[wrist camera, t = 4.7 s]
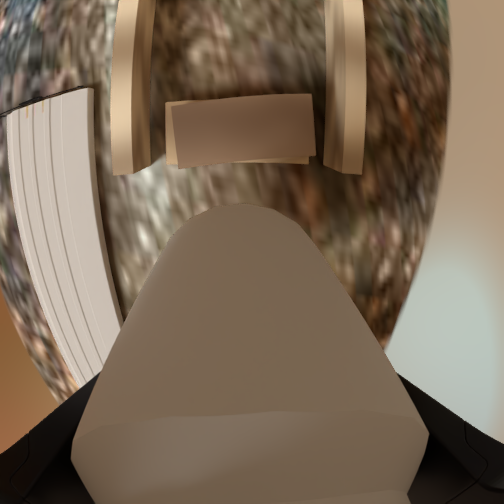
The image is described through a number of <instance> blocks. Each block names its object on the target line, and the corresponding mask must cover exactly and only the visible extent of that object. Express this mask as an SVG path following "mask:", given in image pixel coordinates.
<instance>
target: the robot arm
mask: <svg viewBox="0 0 504 504" xmlns="http://www.w3.org/2000/svg"><path fill="white" fill-rule="evenodd" d="M100 372H101V371H100ZM100 372H99V373H98V374H97V375H95V376H94V377H93V378H92V379H91V380H89V381H88V382H87V383H86V384H85V385H83V386H82V387H81V388H80V389H79V390H78V391H76V392H75V393H74V394H73V395H72V396H70V397H69V398H68V399H67V400H66V401H65V402H63V403H62V404H61V405H60V406H59V407H58V408H56V409H55V410H54V411H53V412H52V413H50V414H49V415H48V416H47V417H46V418H44V419H43V420H42V421H41V422H40V423H39V424H38V425H36V426H35V427H34V428H33V429H32V430H30V431H29V433H27V434H26V435H24V436H23V437H22V438H21V439H20V440H18V441H17V442H16V443H15V444H14V445H12V446H11V447H10V448H8V449H7V450H6V451H4V452H3V453H1V454H0V504H95V502H94V501H93V499H92V497H91V496H90V494H89V492H88V491H87V489H86V487H85V485H84V484H83V482H82V480H81V478H80V476H79V475H78V473H77V471H76V469H75V467H74V465H73V463H72V461H71V452H72V443H73V439H74V436H75V433H76V431H77V428H78V425H79V423H80V420H81V418H82V415H83V413H84V410H85V408H86V405H87V403H88V400H89V398H90V396H91V393H92V391H93V388H94V386H95V384H96V381H97V379H98V377H99V375H100ZM397 375H398V377H399V379H400V380H401V382H402V384H403V386H404V387H405V389H406V391H407V393H408V395H409V396H410V398H411V400H412V402H413V404H414V406H415V407H416V409H417V411H418V413H419V415H420V417H421V419H422V421H423V422H424V424H425V426H426V428H427V430H428V432H429V436H428V441H427V445H426V449H425V453H424V456H423V458H422V461H421V463H420V466H419V468H418V471H417V473H416V475H415V478H414V480H413V482H412V484H411V486H410V488H409V491H408V493H407V496H408V498H409V501H410V503H411V504H504V444H503V443H501V442H499V441H497V440H495V439H493V438H491V437H490V436H488V435H486V434H484V433H483V432H481V431H480V430H478V429H477V428H475V427H473V426H472V425H471V424H469V423H468V422H466V421H464V420H463V419H462V418H460V417H459V416H458V415H456V414H454V413H453V412H452V411H450V410H449V409H447V408H446V407H445V406H443V405H442V404H440V403H439V402H437V401H436V400H435V399H433V398H432V397H430V396H429V395H428V394H426V393H425V392H423V391H422V390H420V389H419V388H418V387H416V386H415V385H413V384H412V383H410V382H409V381H408V380H406V379H405V378H404V377H402V376H401V375H399V374H398V373H397Z"/></svg>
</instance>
